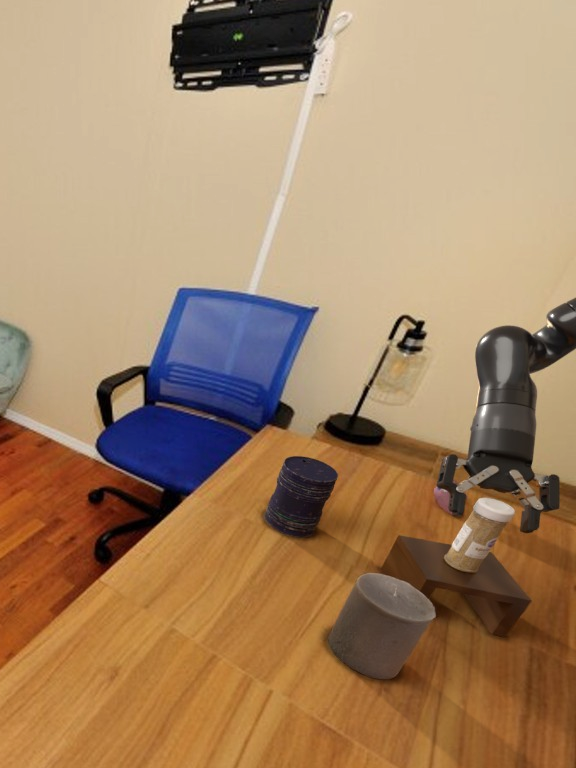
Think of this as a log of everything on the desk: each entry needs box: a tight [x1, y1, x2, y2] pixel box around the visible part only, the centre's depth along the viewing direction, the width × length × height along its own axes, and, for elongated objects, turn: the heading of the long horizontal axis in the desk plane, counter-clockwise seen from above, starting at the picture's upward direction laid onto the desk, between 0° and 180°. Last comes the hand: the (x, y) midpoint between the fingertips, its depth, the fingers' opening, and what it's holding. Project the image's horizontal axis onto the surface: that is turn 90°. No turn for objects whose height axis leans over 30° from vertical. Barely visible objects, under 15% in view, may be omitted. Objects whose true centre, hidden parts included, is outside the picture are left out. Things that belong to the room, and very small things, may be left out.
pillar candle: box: [327, 572, 437, 680], centre depth 82 cm, size 10×10×15 cm
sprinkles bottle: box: [444, 497, 516, 573], centre depth 87 cm, size 5×5×14 cm
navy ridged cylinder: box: [264, 455, 339, 538], centre depth 111 cm, size 10×10×15 cm
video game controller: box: [433, 479, 468, 516], centre depth 119 cm, size 10×5×7 cm, turn 130°
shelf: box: [380, 534, 533, 638], centre depth 92 cm, size 14×12×9 cm
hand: (491, 523), depth 85 cm, fingers open, 8 cm apart
